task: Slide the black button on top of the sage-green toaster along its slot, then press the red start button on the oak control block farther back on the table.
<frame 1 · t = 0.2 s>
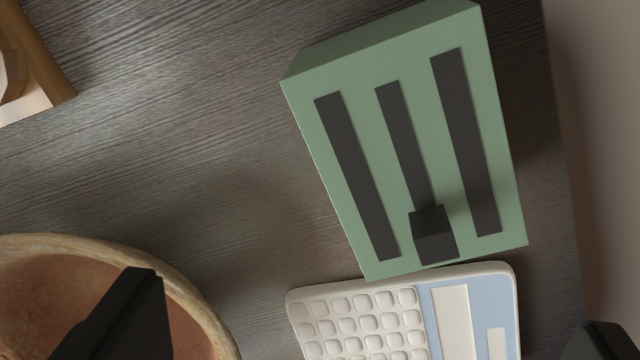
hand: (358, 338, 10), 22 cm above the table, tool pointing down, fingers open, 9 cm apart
bowl: (144, 287, 40), on the table
slider: (432, 230, 22), point 10 cm above the table, slide at 0.0 cm
toaster: (400, 119, 29), on the table
calculator: (402, 323, 39), on the table
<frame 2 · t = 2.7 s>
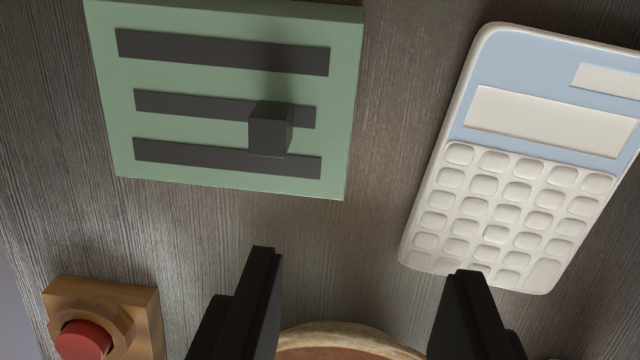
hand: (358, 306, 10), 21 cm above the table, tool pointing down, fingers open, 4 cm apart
bowl: (336, 350, 43), on the table
slider: (273, 126, 21), point 10 cm above the table, slide at 0.0 cm
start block: (119, 336, 44), on the table
toaster: (257, 73, 29), on the table
calculator: (514, 170, 31), on the table
start button: (84, 342, 38), point 5 cm above the table, slide at 0.1 cm
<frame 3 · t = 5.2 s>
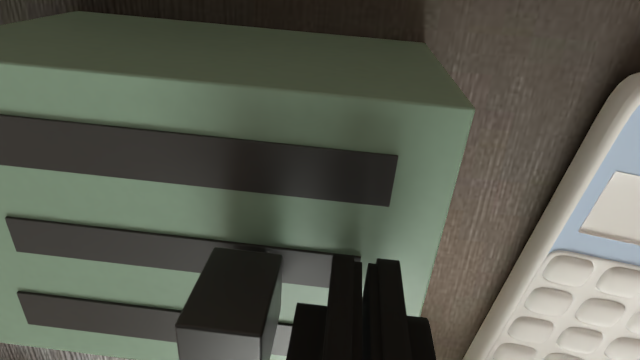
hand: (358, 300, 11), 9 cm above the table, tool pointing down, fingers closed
slider: (238, 307, 10), point 10 cm above the table, slide at 0.9 cm, touching gripper
toaster: (249, 142, 19), on the table
calculator: (639, 283, 21), on the table
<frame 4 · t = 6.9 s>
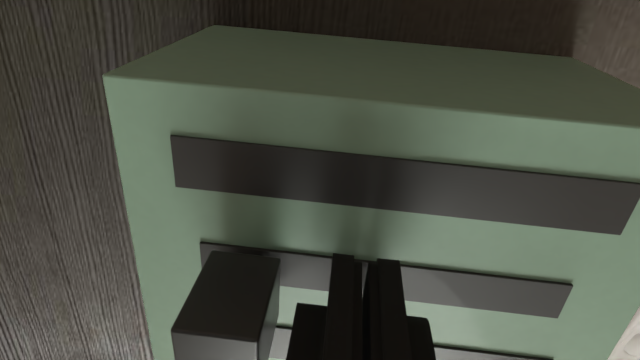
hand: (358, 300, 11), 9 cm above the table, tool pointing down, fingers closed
slider: (236, 311, 10), point 10 cm above the table, slide at 6.5 cm, touching gripper
toaster: (372, 156, 18), on the table
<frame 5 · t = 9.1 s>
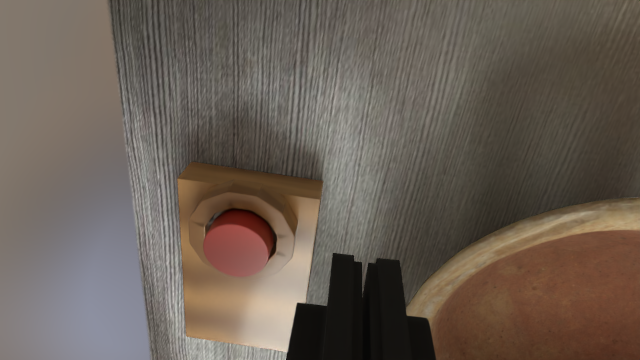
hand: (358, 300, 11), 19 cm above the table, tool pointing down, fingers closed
bowl: (539, 273, 33), on the table
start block: (252, 254, 34), on the table
start button: (239, 243, 28), point 5 cm above the table, slide at 0.1 cm
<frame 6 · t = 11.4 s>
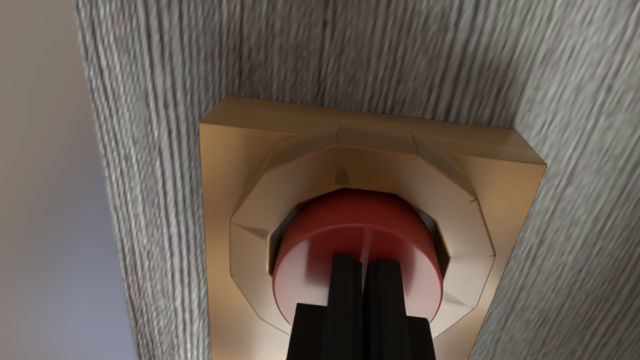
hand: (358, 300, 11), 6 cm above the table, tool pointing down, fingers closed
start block: (341, 286, 18), on the table
start button: (356, 272, 11), point 5 cm above the table, slide at -0.1 cm, touching gripper
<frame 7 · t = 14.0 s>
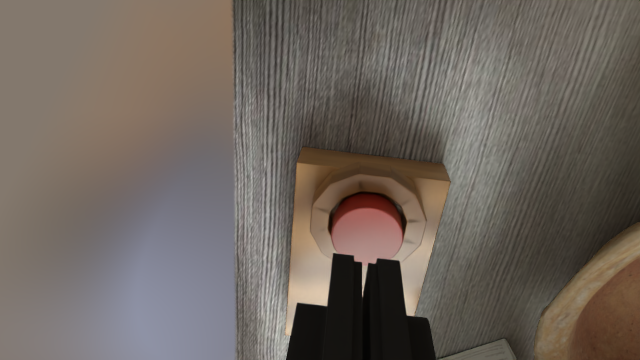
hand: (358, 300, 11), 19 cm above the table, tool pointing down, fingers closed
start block: (357, 246, 33), on the table
start button: (366, 230, 26), point 5 cm above the table, slide at 0.1 cm
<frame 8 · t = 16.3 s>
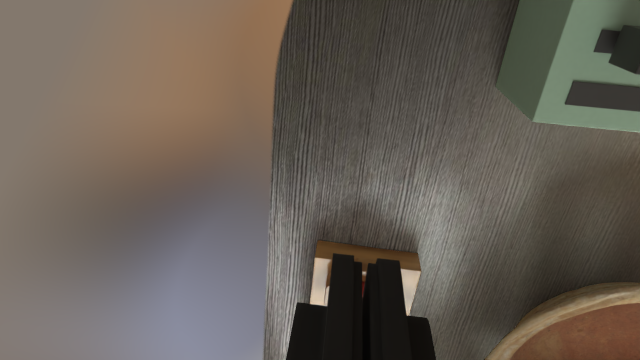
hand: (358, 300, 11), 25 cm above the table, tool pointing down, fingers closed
bowl: (581, 318, 43), on the table
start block: (356, 305, 45), on the table
toaster: (612, 27, 30), on the table
start button: (363, 305, 38), point 5 cm above the table, slide at 0.1 cm
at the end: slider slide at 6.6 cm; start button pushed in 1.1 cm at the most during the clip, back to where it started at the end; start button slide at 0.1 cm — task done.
